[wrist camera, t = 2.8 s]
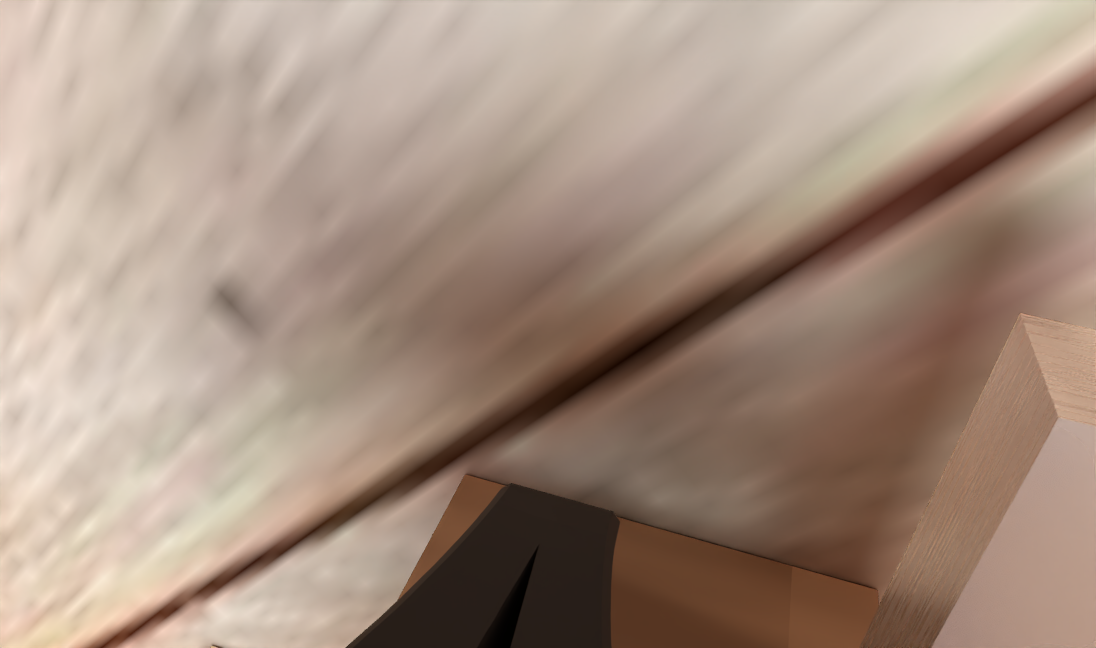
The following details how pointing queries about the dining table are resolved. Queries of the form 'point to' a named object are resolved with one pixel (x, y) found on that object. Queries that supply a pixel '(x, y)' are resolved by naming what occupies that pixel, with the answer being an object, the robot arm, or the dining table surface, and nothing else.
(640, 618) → the socket block
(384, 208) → the dining table surface
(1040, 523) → the bar
